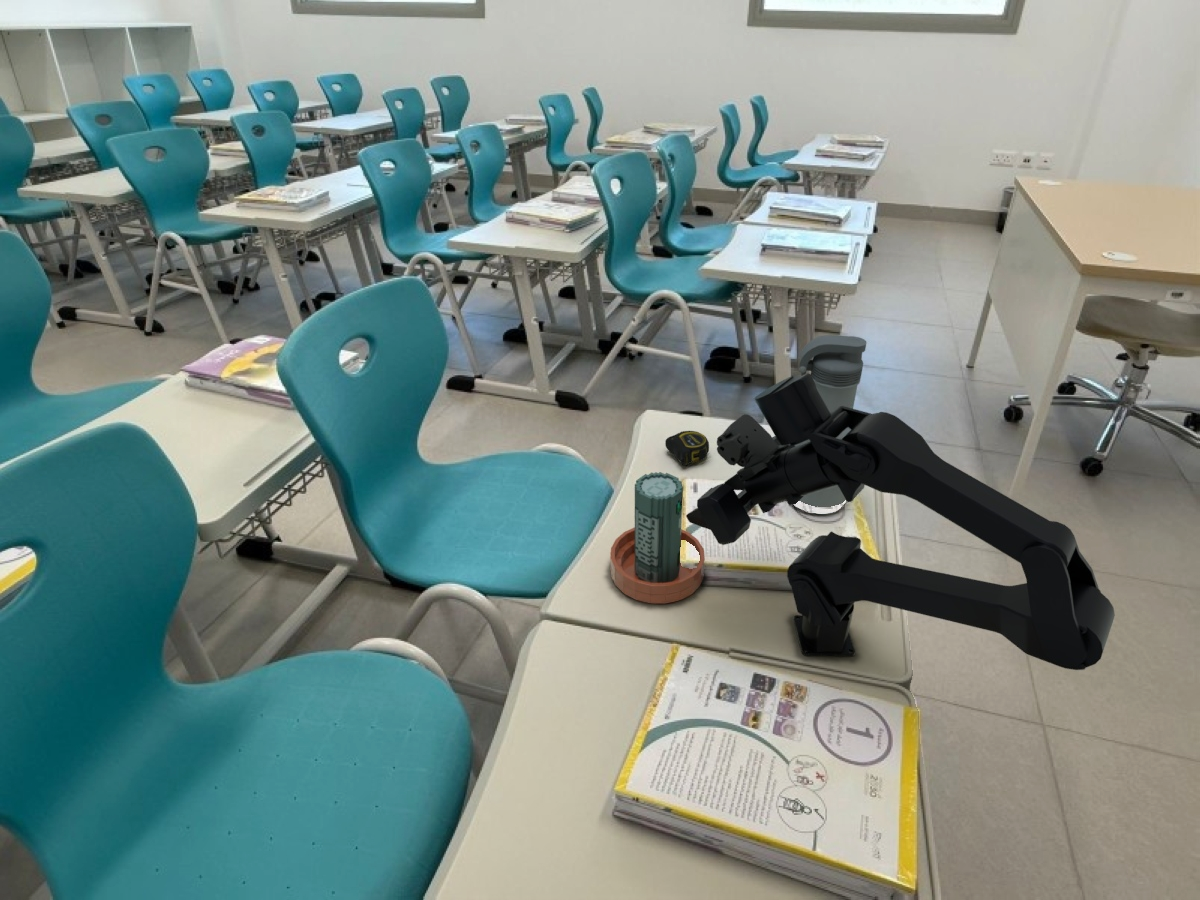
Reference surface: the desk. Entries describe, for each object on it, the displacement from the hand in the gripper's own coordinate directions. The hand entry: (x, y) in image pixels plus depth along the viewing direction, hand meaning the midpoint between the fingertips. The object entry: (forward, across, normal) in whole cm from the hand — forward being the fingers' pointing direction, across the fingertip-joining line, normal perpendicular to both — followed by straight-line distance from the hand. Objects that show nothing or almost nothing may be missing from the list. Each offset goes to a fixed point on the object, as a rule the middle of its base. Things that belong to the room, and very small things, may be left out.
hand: (707, 501), depth 95 cm
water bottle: (+6, -27, +13) cm, 30 cm away
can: (+13, +3, +7) cm, 15 cm away
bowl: (+13, +3, +7) cm, 15 cm away
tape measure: (+23, -24, -2) cm, 34 cm away
